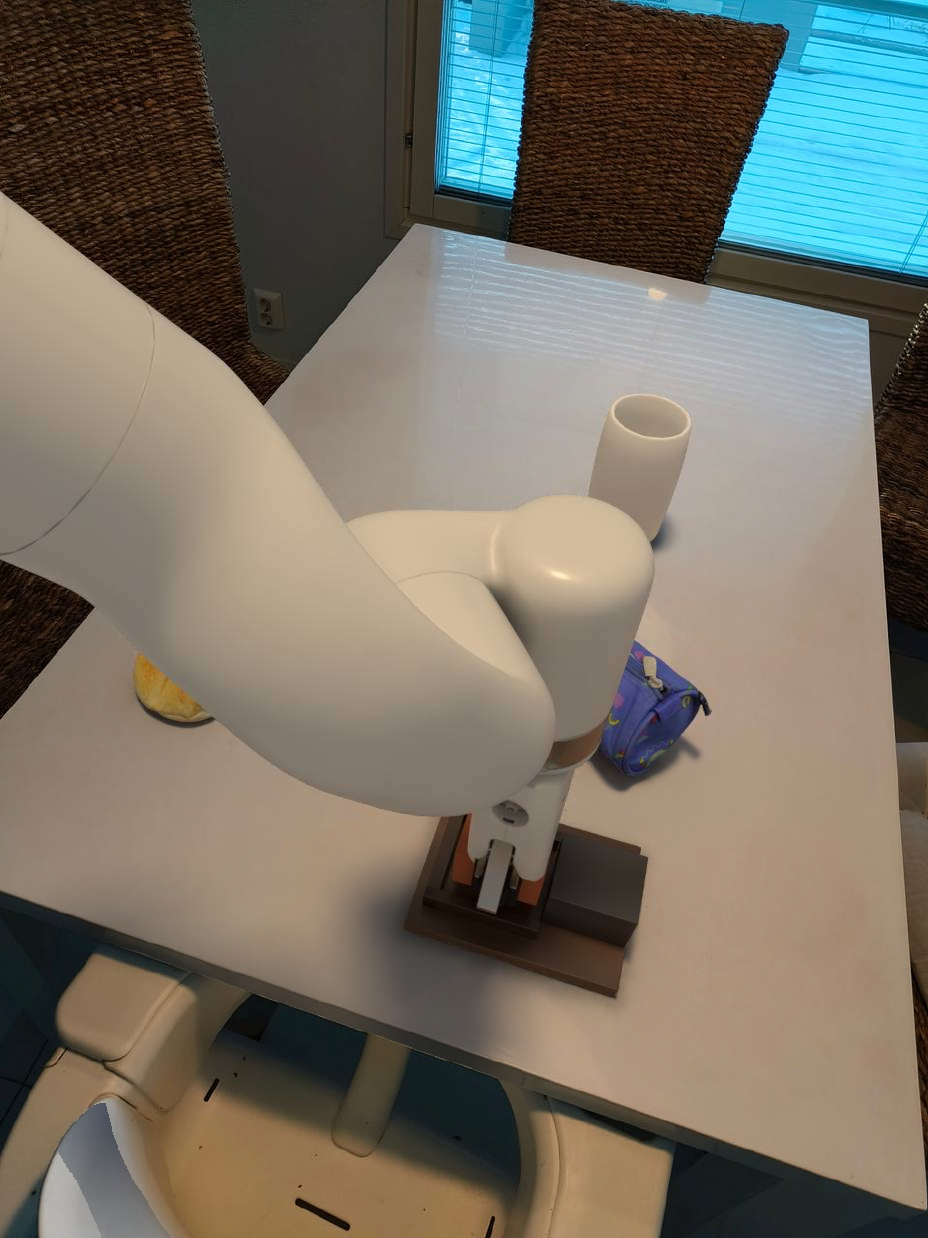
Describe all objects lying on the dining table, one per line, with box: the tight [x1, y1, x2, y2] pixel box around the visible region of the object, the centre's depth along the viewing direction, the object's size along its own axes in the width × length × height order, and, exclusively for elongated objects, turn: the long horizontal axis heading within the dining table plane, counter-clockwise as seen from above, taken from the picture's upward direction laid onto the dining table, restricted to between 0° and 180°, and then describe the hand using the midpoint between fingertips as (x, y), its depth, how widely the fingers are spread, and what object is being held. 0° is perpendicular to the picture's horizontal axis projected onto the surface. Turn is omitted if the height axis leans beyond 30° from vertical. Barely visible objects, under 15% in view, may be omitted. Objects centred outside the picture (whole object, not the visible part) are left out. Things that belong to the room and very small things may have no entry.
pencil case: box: [597, 640, 713, 776], centre depth 71 cm, size 22×9×10 cm, turn 37°
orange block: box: [452, 813, 553, 906], centre depth 58 cm, size 5×6×4 cm
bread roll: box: [132, 651, 214, 723], centre depth 71 cm, size 8×9×4 cm
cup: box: [587, 393, 693, 543], centre depth 85 cm, size 8×8×14 cm
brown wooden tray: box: [403, 814, 649, 997], centre depth 60 cm, size 11×15×5 cm
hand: (504, 858), depth 59 cm, fingers closed on orange block, 4 cm apart
